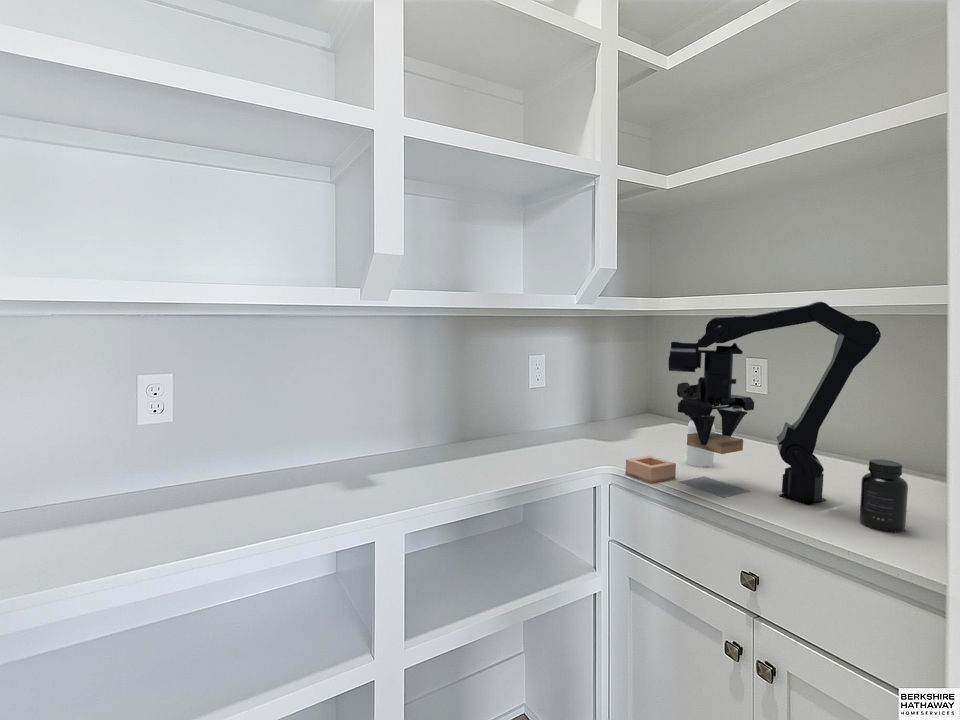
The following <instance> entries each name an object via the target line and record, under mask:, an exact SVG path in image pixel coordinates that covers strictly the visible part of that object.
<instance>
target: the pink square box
mask: <svg viewBox="0 0 960 720" xmlns="http://www.w3.org/2000/svg"><path fill="white" fill-rule="evenodd" d="M676 464H677V463H675V462H674V461H669V460H667V459H662V458H660V457H656V456H652V455H645V456H640V457H633V458H627V459H625V475H626V476H629V477H632V478H634V479H637V480H640V481H642V482H645V483H648V484H651V485H652V484H656V483H661V482H666V481H670V480H676V475H677V472H676V471H677V465H676Z"/></svg>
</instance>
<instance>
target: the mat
mask: <svg viewBox="0 0 960 720" xmlns="http://www.w3.org/2000/svg"><path fill="white" fill-rule="evenodd" d="M678 483H679V484H683V485H686V486H689V487H690V488H691V487H692V488H695V489H698V490H700V491H703V492H706V493H708V494H711V495H715V496H718V497H721V498H724V499H725V498H727V497H732V496H733V497H734V496H736V495H742V494H745V493H749V492H751V490H749V489H745V488H742V487H739V486H736V485H733V484H730V483H726V482H723V481H720V480H717V479H714V478H710V477H708V476H700V477H694V478H690V479H685V480H680V481H678Z"/></svg>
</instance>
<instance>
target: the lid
mask: <svg viewBox="0 0 960 720" xmlns="http://www.w3.org/2000/svg"><path fill="white" fill-rule="evenodd" d="M686 436H687V438H686V446H687V445H689V446H693V447H697V448H700V449H704V450H708V451H712V452H714V453H716V454H719V455H725V454H729V453H737V452H741V451H744V450H743V449H744V447H743V446H744V438H739V437H735V436H727V435H722V433H717V432H715V433H714V432H710V436H709V439H708V442H707V444H706V445H702V444H701V443H700V439H699V436H698V433H692V434H687V433H686Z"/></svg>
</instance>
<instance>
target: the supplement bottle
mask: <svg viewBox="0 0 960 720" xmlns="http://www.w3.org/2000/svg"><path fill="white" fill-rule="evenodd" d="M868 471H869V473H866V474H864V475H863V476H862V478H861V483H860V485H861V486H860V503H859V504H860V505H859V521H860V523H861V524H862V525H864V526H865V527H867V528H870V529H873V530H877V531H880V532H884V533H885V532H886V533H887V532H888V533H900V532H903V531H904V530H906V524H907V511H908V510H907V508H908V493H909V485H908V482H907V481H906V480H905V479H904V478H902V477H901V476H902V475H903V465H902V463H900V462H897V461H894V460H889V459H878V458H875V459H870V460H869V463H868Z"/></svg>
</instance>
